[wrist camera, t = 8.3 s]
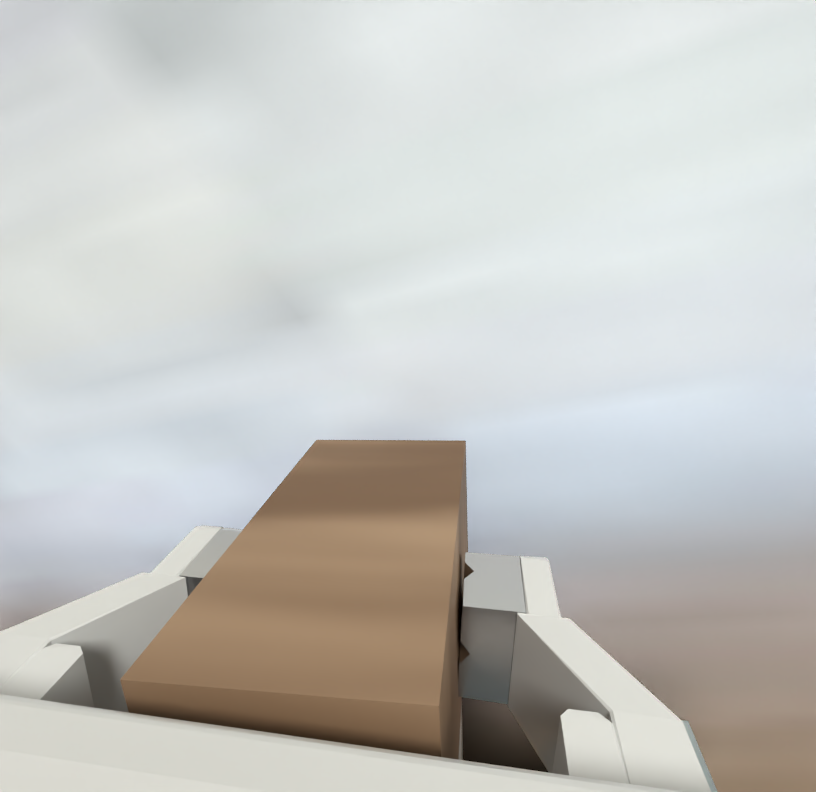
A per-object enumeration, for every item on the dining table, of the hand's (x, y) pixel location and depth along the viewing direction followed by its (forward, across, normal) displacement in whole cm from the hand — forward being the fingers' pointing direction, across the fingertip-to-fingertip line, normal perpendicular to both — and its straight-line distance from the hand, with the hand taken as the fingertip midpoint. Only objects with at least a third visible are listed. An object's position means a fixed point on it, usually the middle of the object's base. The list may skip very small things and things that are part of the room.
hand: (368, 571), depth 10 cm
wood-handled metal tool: (+3, -1, +7) cm, 8 cm away
